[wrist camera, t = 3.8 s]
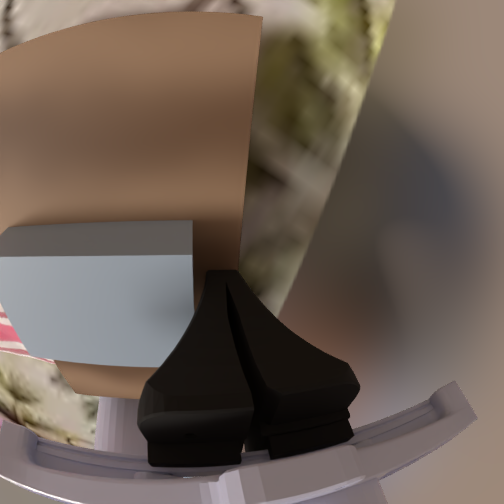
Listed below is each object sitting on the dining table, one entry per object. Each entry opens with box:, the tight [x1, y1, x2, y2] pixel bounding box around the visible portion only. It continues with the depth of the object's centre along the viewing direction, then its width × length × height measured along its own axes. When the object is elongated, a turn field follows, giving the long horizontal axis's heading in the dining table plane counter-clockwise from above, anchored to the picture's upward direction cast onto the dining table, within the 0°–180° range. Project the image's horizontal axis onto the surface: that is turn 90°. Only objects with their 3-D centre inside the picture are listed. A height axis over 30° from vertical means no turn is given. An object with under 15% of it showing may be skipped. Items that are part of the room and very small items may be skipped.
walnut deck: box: [0, 12, 263, 399], centre depth 13 cm, size 22×12×4 cm, turn 175°
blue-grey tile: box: [0, 220, 195, 367], centre depth 10 cm, size 6×9×2 cm, turn 85°
